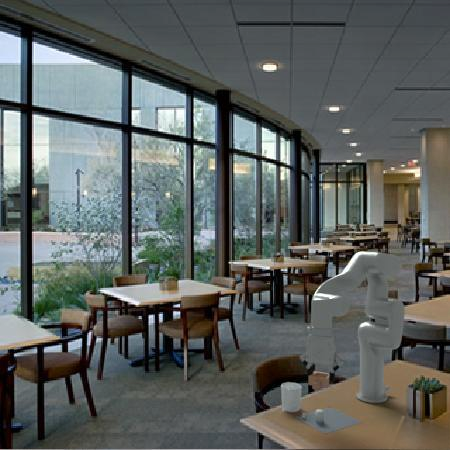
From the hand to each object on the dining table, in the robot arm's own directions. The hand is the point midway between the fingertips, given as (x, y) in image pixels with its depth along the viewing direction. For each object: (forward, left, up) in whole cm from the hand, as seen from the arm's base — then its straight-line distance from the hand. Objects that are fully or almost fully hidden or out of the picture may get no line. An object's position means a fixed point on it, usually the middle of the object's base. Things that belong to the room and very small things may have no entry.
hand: (320, 380), depth 171 cm
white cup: (+1, -15, -16) cm, 22 cm away
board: (-4, 0, -16) cm, 17 cm away
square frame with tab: (+1, +1, -1) cm, 2 cm away
